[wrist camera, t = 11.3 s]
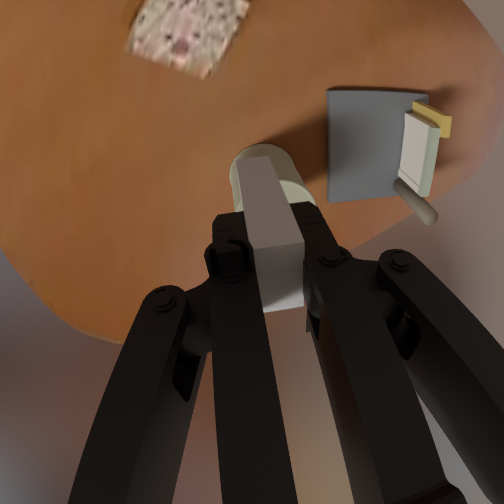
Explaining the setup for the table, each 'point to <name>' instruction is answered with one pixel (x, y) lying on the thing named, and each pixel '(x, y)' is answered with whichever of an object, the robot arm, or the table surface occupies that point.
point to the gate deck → (374, 144)
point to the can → (283, 169)
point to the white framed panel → (419, 153)
